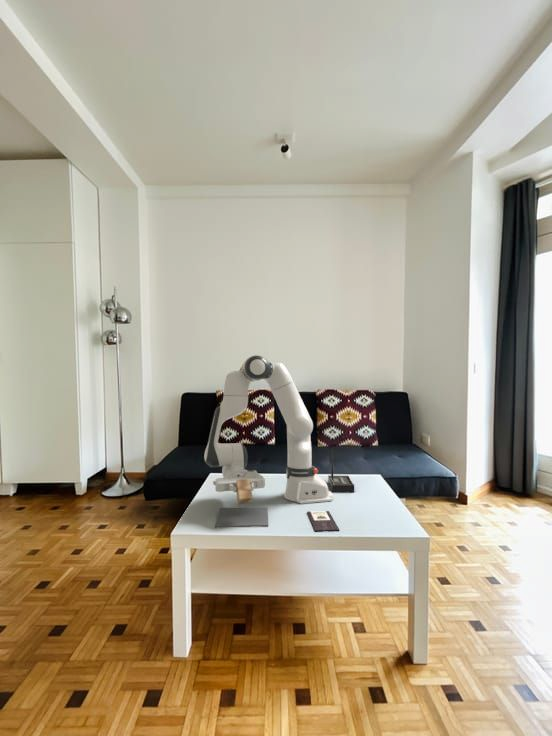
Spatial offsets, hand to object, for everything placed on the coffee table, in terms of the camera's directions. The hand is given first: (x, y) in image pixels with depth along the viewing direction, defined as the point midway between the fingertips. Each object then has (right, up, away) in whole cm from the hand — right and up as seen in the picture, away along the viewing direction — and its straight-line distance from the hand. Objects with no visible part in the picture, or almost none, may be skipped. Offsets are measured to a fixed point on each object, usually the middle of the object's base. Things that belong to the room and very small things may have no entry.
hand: (243, 489), depth 150 cm
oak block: (+1, -4, -3) cm, 4 cm away
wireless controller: (+45, -12, +43) cm, 63 cm away
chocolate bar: (+31, -13, -1) cm, 33 cm away
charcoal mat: (-1, -12, +3) cm, 13 cm away
